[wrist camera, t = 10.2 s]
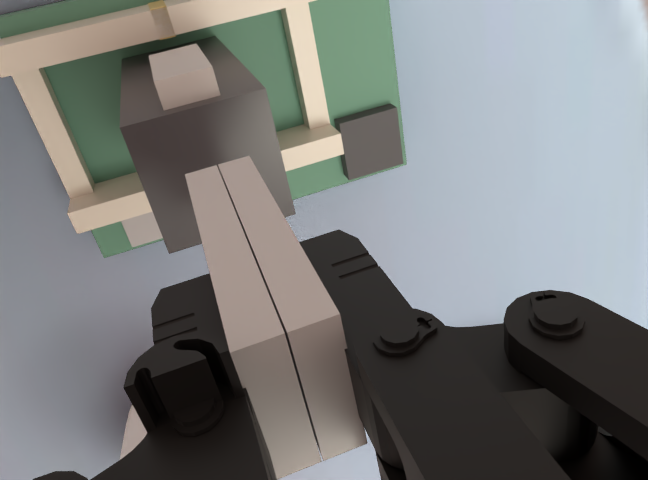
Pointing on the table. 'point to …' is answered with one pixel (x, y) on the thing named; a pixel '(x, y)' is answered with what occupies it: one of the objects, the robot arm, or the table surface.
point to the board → (269, 69)
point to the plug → (195, 128)
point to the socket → (139, 27)
